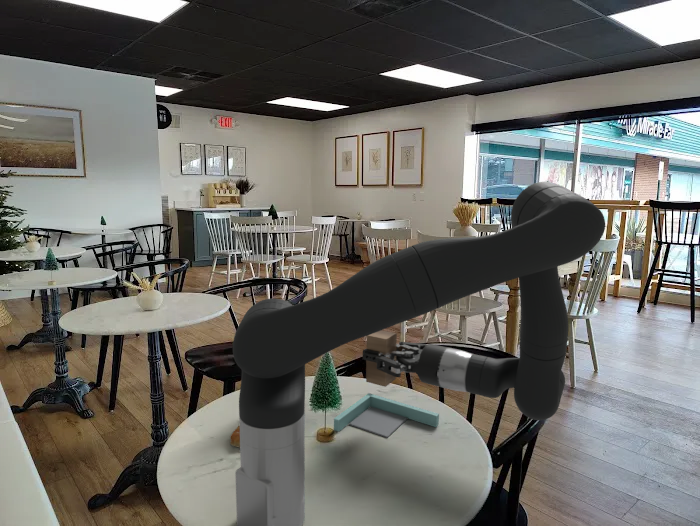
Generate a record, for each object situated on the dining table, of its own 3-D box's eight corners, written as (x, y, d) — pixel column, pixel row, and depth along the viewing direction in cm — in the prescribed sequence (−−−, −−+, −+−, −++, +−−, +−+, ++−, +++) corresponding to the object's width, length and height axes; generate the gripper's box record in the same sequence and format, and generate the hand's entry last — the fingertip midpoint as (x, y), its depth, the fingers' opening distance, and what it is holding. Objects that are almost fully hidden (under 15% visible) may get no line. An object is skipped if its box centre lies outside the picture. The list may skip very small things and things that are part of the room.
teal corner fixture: (409, 457, 86) (410, 444, 86) (333, 429, 95) (333, 418, 95) (438, 424, 98) (439, 413, 97) (368, 403, 107) (368, 393, 106)
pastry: (246, 455, 86) (245, 436, 86) (221, 444, 90) (220, 425, 89) (280, 433, 94) (280, 415, 93) (256, 423, 98) (255, 406, 97)
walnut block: (385, 386, 94) (386, 339, 92) (366, 381, 96) (366, 335, 94) (395, 379, 98) (396, 333, 96) (376, 374, 100) (377, 329, 98)
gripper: (461, 338, 93) (386, 324, 103) (433, 361, 82) (351, 342, 91) (459, 373, 95) (385, 356, 104) (432, 401, 83) (351, 379, 92)
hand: (370, 350), depth 97 cm, fingers closed on walnut block, 4 cm apart
